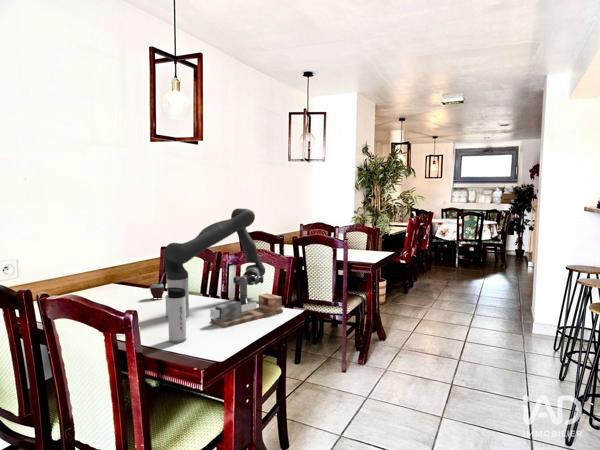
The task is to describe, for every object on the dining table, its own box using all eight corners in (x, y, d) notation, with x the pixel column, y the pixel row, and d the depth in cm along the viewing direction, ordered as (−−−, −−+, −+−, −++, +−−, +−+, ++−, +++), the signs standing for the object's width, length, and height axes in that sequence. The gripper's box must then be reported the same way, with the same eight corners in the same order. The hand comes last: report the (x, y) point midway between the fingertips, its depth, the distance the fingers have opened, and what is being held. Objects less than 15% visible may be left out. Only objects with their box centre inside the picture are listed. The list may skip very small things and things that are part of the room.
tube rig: (225, 327, 166) (224, 309, 166) (210, 321, 174) (210, 304, 174) (282, 312, 188) (282, 296, 188) (267, 308, 196) (267, 292, 196)
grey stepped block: (214, 318, 167) (214, 282, 166) (210, 316, 169) (209, 281, 168) (256, 308, 182) (256, 275, 181) (252, 307, 185) (251, 274, 184)
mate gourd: (147, 299, 214) (146, 271, 213) (158, 296, 221) (157, 269, 220) (158, 300, 211) (158, 272, 210) (169, 297, 218) (168, 270, 218)
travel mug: (170, 337, 154) (169, 286, 152) (187, 337, 154) (186, 285, 153) (166, 343, 147) (164, 289, 146) (184, 343, 148) (183, 289, 147)
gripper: (237, 268, 205) (231, 274, 188) (265, 268, 204) (261, 274, 188) (237, 283, 205) (231, 290, 189) (265, 283, 205) (261, 290, 189)
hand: (246, 282), depth 189 cm, fingers open, 8 cm apart
